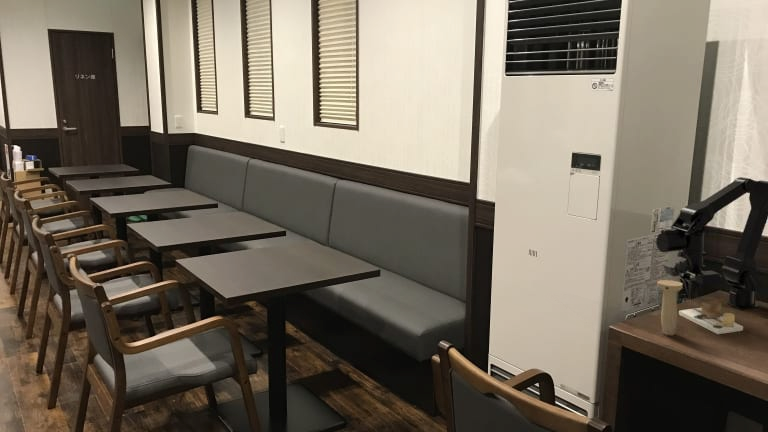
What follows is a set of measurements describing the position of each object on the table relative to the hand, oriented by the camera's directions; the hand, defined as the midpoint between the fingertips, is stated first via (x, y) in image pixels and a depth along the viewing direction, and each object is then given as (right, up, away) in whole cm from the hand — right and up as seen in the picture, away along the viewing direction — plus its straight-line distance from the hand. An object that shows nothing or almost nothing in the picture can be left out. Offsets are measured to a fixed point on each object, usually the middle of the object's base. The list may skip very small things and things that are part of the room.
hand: (690, 298), depth 185 cm
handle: (-13, -8, -13) cm, 20 cm away
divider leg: (+1, -4, -7) cm, 8 cm away
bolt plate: (+2, -6, -7) cm, 9 cm away
